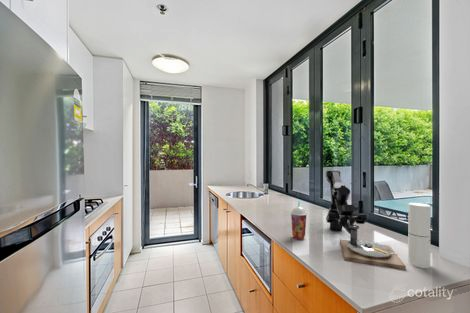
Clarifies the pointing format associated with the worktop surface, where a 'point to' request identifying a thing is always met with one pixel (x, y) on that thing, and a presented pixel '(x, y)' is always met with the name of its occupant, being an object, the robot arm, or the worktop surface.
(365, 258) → the board
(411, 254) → the cylindrical container
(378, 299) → the worktop surface
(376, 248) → the dial
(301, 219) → the smoothie
